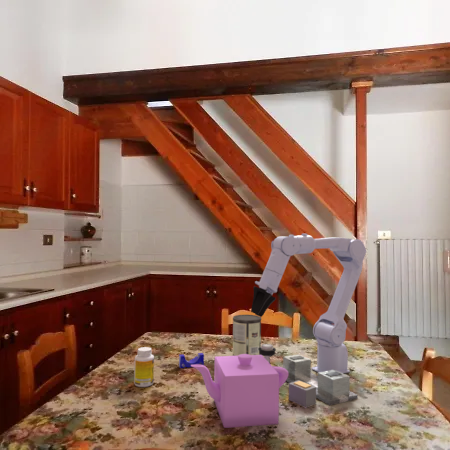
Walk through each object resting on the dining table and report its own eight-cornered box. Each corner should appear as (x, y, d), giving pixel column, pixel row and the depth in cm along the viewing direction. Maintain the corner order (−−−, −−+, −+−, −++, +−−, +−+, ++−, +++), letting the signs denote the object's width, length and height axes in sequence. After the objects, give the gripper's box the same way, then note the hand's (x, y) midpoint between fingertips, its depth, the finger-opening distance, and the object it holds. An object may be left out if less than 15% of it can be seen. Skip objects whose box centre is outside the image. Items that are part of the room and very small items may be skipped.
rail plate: (301, 371, 131) (301, 351, 131) (357, 398, 110) (357, 375, 110) (275, 375, 126) (276, 355, 126) (329, 405, 105) (329, 381, 105)
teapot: (186, 402, 106) (188, 348, 106) (278, 397, 110) (279, 345, 110) (192, 430, 91) (193, 367, 91) (298, 423, 95) (299, 363, 96)
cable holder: (201, 363, 138) (201, 351, 138) (203, 366, 134) (203, 354, 135) (177, 365, 135) (178, 353, 135) (180, 368, 132) (180, 356, 132)
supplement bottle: (155, 386, 116) (155, 350, 116) (135, 388, 114) (136, 352, 114) (151, 379, 121) (152, 345, 121) (132, 381, 119) (133, 347, 119)
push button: (278, 382, 120) (278, 349, 121) (260, 383, 120) (260, 349, 120) (273, 375, 127) (273, 343, 127) (256, 375, 127) (257, 343, 127)
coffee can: (241, 350, 153) (241, 313, 153) (265, 355, 147) (266, 316, 148) (226, 357, 144) (227, 317, 144) (252, 362, 139) (252, 321, 139)
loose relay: (298, 396, 111) (298, 379, 111) (316, 404, 106) (316, 385, 106) (288, 400, 108) (288, 382, 108) (306, 408, 104) (306, 389, 104)
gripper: (264, 272, 131) (248, 311, 128) (257, 263, 118) (239, 306, 115) (285, 280, 129) (268, 320, 126) (280, 271, 115) (262, 316, 113)
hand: (256, 314), depth 120 cm, fingers open, 7 cm apart
